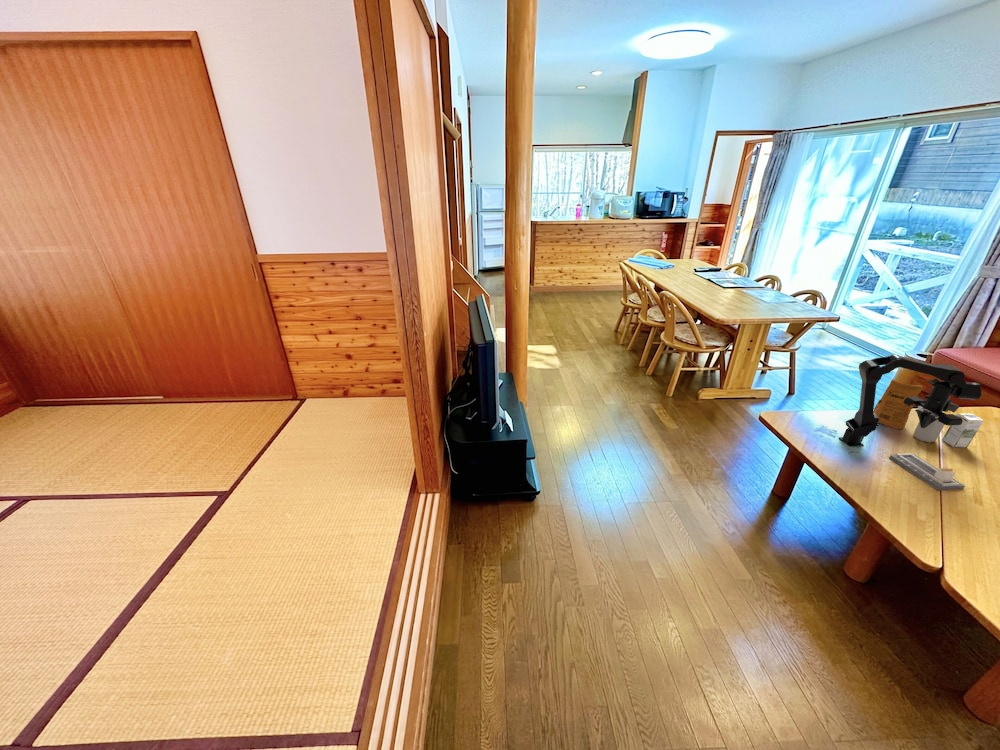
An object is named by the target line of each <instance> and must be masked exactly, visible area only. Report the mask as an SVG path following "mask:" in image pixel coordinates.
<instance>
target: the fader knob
mask: <svg viewBox="0 0 1000 750" xmlns="http://www.w3.org/2000/svg"><path fill="white" fill-rule="evenodd" d="M955 475H956V472H955V471H954V469H952V468H949V467H937V471H936V473H935V475H934V477H935V478H937V479H938V480H940V481H942V482H950V481H951V480H952V478H953V479H954V476H955Z"/></svg>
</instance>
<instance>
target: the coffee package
mask: <svg viewBox="0 0 1000 750" xmlns="http://www.w3.org/2000/svg"><path fill="white" fill-rule="evenodd" d="M922 389H923V385H917V384H916V385H915V384H906V383H904V382H901V381H898V380H896V379H893V378H892V379H891V381H890V383H889V384H888V386H887V388H886V389H885V390H884V392H883V394H882V397H880V399H879V400H878V401H877V403H876V404H875V405H874V410H873V412H874V413H875V414H876V415H877V416H878V418H879V421H878V424H881V425H884V426H885V425H886V427H888V426H889V427H888V428H892V427H894V429H898V430H902V429H904V427H905V426H906V425H907V422H908V419H909V415H910V413H911V411H912V410H913V408H914V406H915V404H913V405H911V406H908V405H906V404H904V403H903V401H904V399H905V398H907V397H919V396H918V395H919V394H920V393H921V392H922Z"/></svg>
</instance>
